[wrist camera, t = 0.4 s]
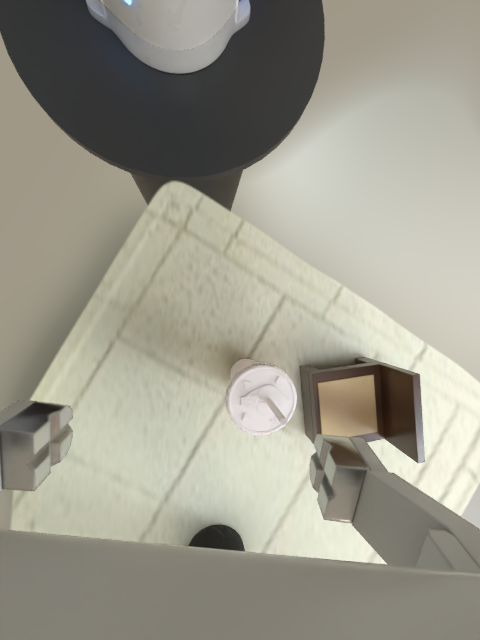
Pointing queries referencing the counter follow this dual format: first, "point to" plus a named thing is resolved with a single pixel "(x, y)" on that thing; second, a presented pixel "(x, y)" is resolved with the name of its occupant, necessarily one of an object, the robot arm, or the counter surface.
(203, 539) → the travel mug
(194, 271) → the counter surface
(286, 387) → the smoothie
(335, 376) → the wooden chair
